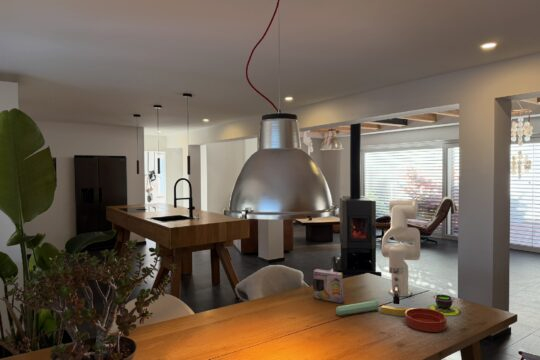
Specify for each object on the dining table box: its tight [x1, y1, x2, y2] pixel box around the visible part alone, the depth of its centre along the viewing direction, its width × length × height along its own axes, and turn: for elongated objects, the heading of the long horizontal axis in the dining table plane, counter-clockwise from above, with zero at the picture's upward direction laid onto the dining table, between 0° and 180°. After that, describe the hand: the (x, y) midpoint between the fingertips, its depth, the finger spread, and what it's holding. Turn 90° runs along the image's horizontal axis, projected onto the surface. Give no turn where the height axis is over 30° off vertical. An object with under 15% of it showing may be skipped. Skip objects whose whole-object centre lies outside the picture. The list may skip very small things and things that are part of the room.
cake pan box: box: [312, 268, 345, 304], centre depth 229 cm, size 19×5×18 cm, turn 53°
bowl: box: [404, 307, 448, 333], centre depth 190 cm, size 20×20×5 cm
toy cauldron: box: [428, 291, 460, 316], centre depth 209 cm, size 15×15×11 cm
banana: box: [380, 305, 412, 317], centre depth 205 cm, size 5×16×3 cm, turn 71°
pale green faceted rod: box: [335, 299, 380, 317], centre depth 208 cm, size 6×6×25 cm
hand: (396, 301), depth 205 cm, fingers open, 9 cm apart
